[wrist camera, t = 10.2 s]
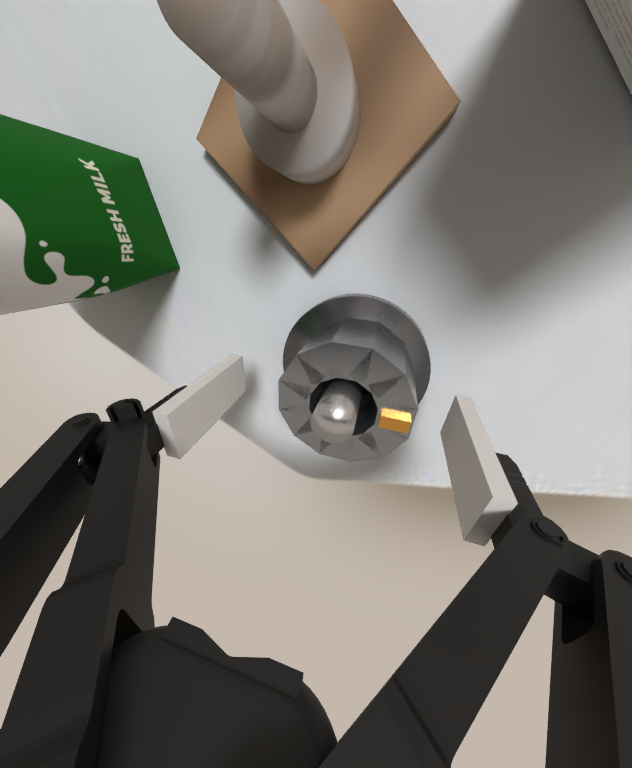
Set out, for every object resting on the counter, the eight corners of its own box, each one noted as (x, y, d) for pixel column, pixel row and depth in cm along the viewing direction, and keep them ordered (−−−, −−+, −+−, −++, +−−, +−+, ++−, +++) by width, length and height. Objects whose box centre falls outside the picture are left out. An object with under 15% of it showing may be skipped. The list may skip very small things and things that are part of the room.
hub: (264, 357, 22) (207, 405, 16) (359, 257, 17) (333, 267, 10) (349, 441, 24) (330, 516, 18) (461, 377, 18) (495, 452, 12)
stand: (207, 144, 16) (-8, 36, 8) (313, -100, 11) (2, -1320, 2) (318, 268, 18) (243, 294, 9) (456, 110, 12) (574, -164, 4)
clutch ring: (302, 404, 22) (276, 447, 18) (306, 311, 18) (275, 335, 13) (397, 425, 20) (396, 478, 16) (425, 328, 16) (435, 362, 12)
